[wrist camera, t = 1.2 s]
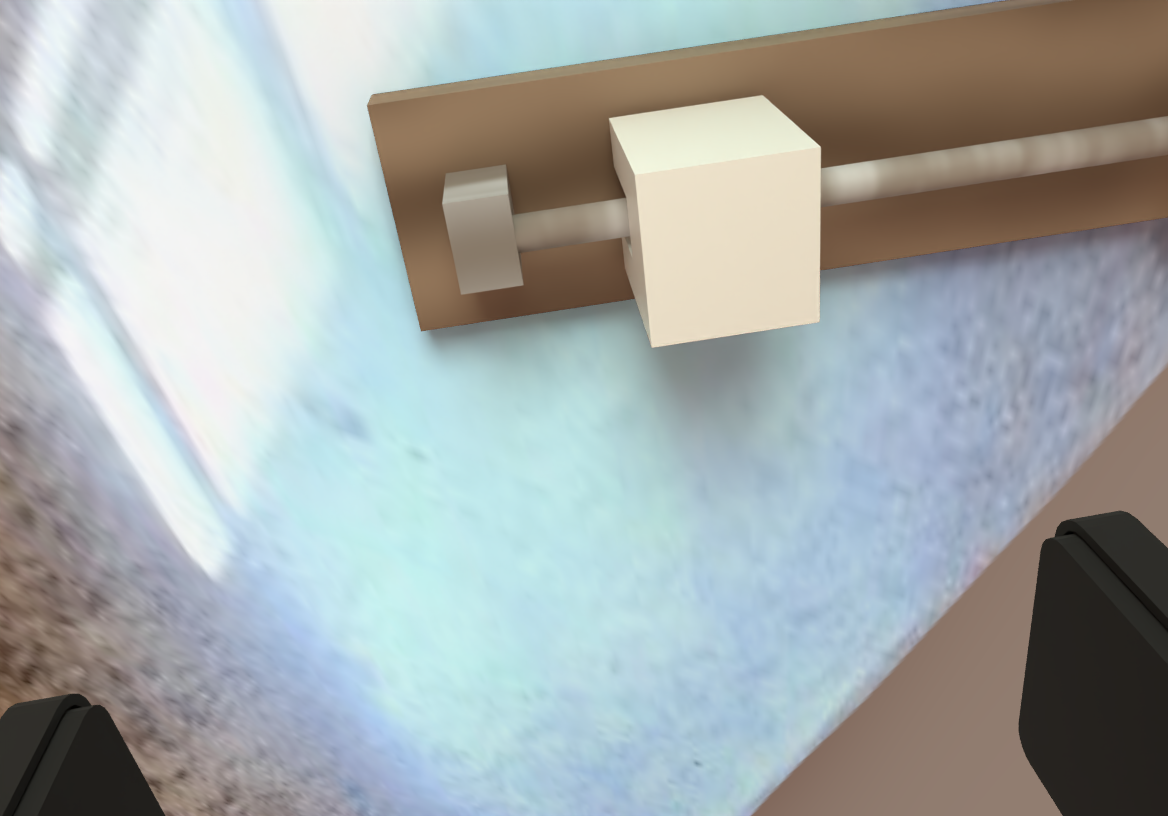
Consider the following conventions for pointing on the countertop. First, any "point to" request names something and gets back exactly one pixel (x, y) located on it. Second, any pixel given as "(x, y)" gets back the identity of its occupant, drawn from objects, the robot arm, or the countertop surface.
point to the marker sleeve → (719, 219)
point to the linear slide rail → (819, 108)
